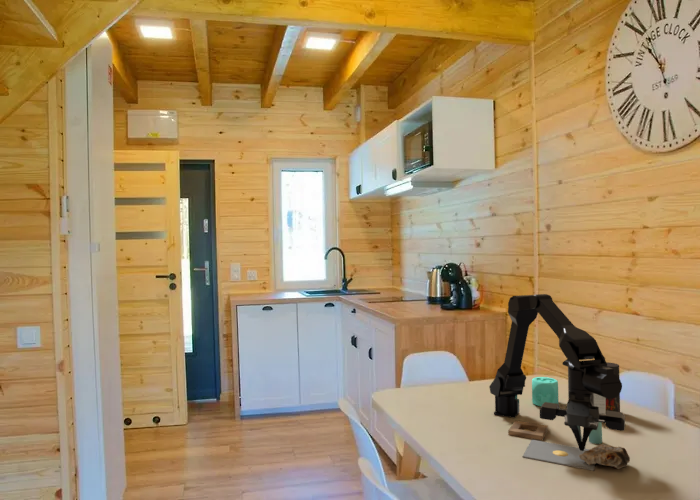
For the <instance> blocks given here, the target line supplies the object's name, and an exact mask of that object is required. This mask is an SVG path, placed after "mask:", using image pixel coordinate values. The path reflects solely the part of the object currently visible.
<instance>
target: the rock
mask: <svg viewBox="0 0 700 500" xmlns="http://www.w3.org/2000/svg"><path fill="white" fill-rule="evenodd" d="M579 457H580V459H582V460H584V461H585V462H586V463H587V464H588V465H593V464H595V465H596V464H598V465H600V466H602V465H603V466H608V467H613V468H614V469H617V470H620V469H623V468H626V467H627V466H628V463H630V461H631V457H630V455H629V453H628V451H627V449H626V448H625V447H622V446H613V445H607V444H598V445H597V446H594V447H592V448H590V450H588V451H585V452H584V453H583V454H580V455H579Z"/></svg>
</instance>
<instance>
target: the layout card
mask: <svg viewBox="0 0 700 500" xmlns="http://www.w3.org/2000/svg"><path fill="white" fill-rule="evenodd" d="M590 449H591V448H590ZM590 449H589V448H584V451H580V449H579V447H578V446H572V445H565V444H560V443H555V442H548V441H544V440H537V439H531V440H530V442H529V443H528V446H527V447H526V449H525V451H524V453H523V454H522V458H523V459H530V460H536V461H541V462H546V463H551V464H556V465H562V466H567V467H568V466H569V467H572V468H578V469H584V470H588V471H595V467H596V463H595V464H593V465H588V464H587V463H586V462H585V461H584V460H582V459H580V457H579V455H580V454H583V453H584V452H585V451H588V450H590Z"/></svg>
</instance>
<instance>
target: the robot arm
mask: <svg viewBox="0 0 700 500" xmlns="http://www.w3.org/2000/svg"><path fill="white" fill-rule="evenodd" d="M507 307H508V308H507V313H508V316H509V318H510V320H511V323H510V329H509V335H508V341H507V344H506V351H505V357H504V361H503V363H502V364H501V365H500V366H499V368H498V369H497V370H496V374H495V378H494V379H493V381H492V382H491V384H490V385H489V392H490V394H491V395H494V412H493V415H494V416H501V417H508V418H516V417H517V416H518V414H520V399H519V398H518V396H519V395H520V396H522V395H523V392H524V387H526V380H527V376H526V374H525V373H524V371H523V369H522V364H523V358H524V354H525V348H526V344H527V343H526V342H527V338H528V333H529V329H530V328H529V327H530V325H531V324H532V323H533V322H534V321H535V320H536V319H537V317H538V314H539V315H540V317H541V318H542V319H543V321H544V322H545V323H546V324H547V326H548V327H550V329H551V330H552V332H553V333H554V334H555V335H556V336H557V338H558V346H559V348H560V350H561V351H562V353H563V355H564V356H565V358H566V359H565V360H564V361H562V362H561V363H562V365H563V366H565V367H567V389H568V390H567V391H568V393H567V395H568V396H567V397H568V400H567V403H566V408H560V404H559V403H558V404H555V403H548V402H544V403H543V404H542V406H540V408H539V419H542V420H546V421H547V420H548V421H554V420H556V418H557V417H562V418H564V423H563V424H564V425H565V426H567V427H569V428H570V430H571V432H572V433H573V435H574V438H575V440H576V444H577V447H578V448H579V449H580V451H584V449H586V445H587V442H588V440H589V435H590V433H591V431H592V430H597V428H598V424H599V422H602V423H604V424H605V427H607V428H608V430H614V431H619V432H620V431H621V432H623V431H625V427H626V416H625V414H624V413H623V412H622V411H620V412H615V411H608V410H607V411H606V415H604V414H599V407H596V406H594V393H595V394H597V395H600V396H602V397H605V398H607V399H614V398H616V397H617V396H618V395H619V394H620V395H621V392H622V389H623V383H622V381H621V379H620V376H619V377H618V376H617V375H615V374H614V369H612V368H606V367H604V366H607V363H606V362H607V361H606V357H605V356H604V355H603V353H602V351H601V349H600V347H599V344H598V342H597V340H596V339H595V338H594V337H593V336H592V335H591V334H589V333H588V332H587V331H585V330H583V329H581V328H578V327H576V325H574V324H573V322H572V321H571V320H570V319H569V318H568V317H567V315H566V314H564V312H563V311H562V310H561V309H560V308H559V307H558V305H557V304H556V303H555V301H554V300H553V297H552V296H551V295H550V294H547V293H540V294H524V295H523V294H521V295H512V296H511V297H509V300H508V304H507ZM581 427H582V428H583V431H581V429H582V428H581Z"/></svg>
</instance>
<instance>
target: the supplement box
mask: <svg viewBox="0 0 700 500" xmlns="http://www.w3.org/2000/svg"><path fill="white" fill-rule="evenodd" d="M594 406H596V407H599V414H604V415H606V398H605V397H602V396H600V395H597V394H595V393H594Z"/></svg>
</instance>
